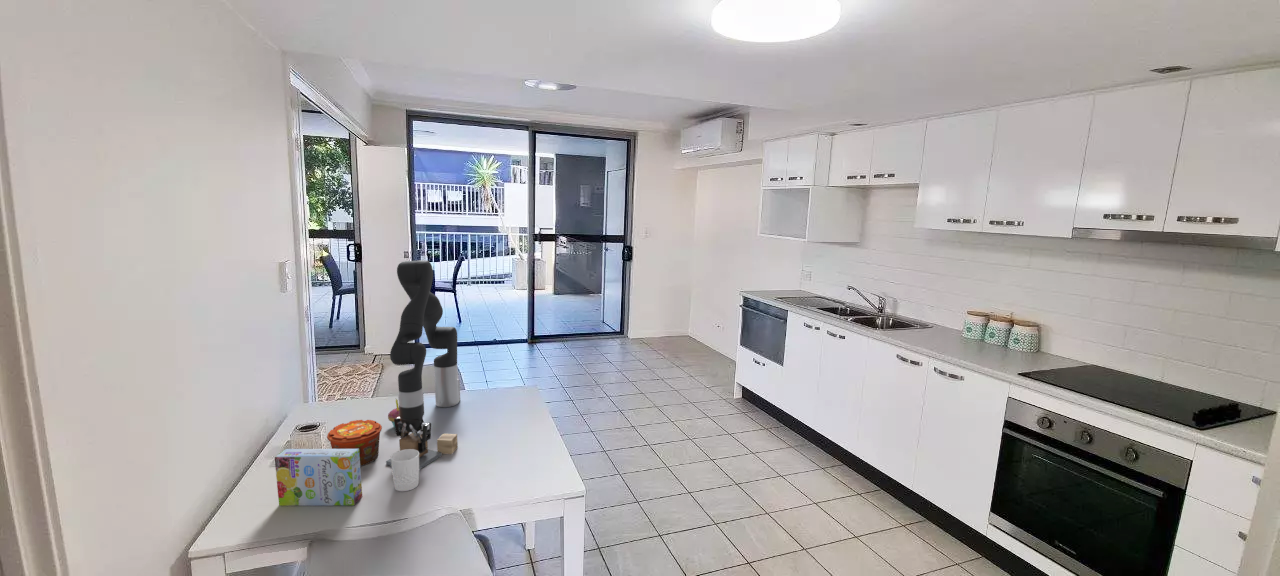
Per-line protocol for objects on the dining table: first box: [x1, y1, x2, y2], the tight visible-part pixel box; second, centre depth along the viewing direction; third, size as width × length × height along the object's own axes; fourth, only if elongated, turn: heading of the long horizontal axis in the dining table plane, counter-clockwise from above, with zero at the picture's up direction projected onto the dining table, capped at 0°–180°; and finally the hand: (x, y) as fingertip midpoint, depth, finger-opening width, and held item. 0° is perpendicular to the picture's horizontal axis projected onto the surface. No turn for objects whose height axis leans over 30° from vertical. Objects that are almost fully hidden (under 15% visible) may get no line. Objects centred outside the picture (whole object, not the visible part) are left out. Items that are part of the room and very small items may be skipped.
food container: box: [326, 419, 383, 467], centre depth 177 cm, size 16×16×11 cm
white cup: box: [390, 449, 420, 492], centre depth 161 cm, size 8×8×10 cm
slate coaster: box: [385, 448, 443, 470], centre depth 177 cm, size 12×12×1 cm
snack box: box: [274, 448, 363, 507], centre depth 152 cm, size 21×6×15 cm, turn 92°
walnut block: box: [399, 432, 429, 457], centre depth 176 cm, size 6×6×6 cm
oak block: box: [436, 433, 458, 455], centre depth 184 cm, size 5×5×5 cm
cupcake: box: [387, 398, 400, 430], centre depth 202 cm, size 9×8×12 cm
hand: (414, 450), depth 177 cm, fingers open, 6 cm apart
